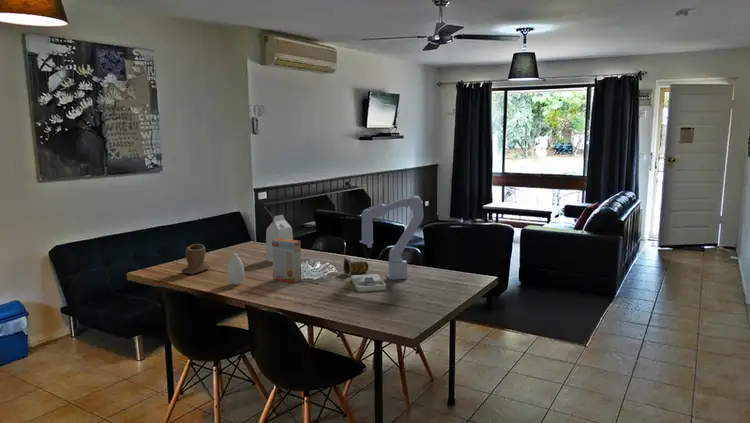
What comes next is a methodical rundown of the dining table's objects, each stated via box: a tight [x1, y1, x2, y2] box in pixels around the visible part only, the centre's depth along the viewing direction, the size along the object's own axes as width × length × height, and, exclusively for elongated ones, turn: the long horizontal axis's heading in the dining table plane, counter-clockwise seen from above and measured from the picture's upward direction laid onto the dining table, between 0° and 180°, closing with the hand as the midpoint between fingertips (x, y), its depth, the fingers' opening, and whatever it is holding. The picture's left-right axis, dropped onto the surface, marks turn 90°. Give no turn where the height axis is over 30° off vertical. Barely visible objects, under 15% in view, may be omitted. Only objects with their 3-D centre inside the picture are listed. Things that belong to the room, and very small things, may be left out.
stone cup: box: [181, 243, 211, 275], centre depth 289 cm, size 15×12×15 cm
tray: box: [353, 279, 387, 293], centre depth 261 cm, size 14×10×2 cm
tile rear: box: [365, 277, 374, 285], centre depth 264 cm, size 4×4×2 cm
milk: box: [265, 214, 294, 263], centre depth 313 cm, size 12×12×26 cm
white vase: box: [227, 251, 245, 286], centre depth 266 cm, size 8×8×18 cm
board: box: [350, 273, 383, 285], centre depth 271 cm, size 14×11×2 cm
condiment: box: [343, 257, 369, 277], centre depth 287 cm, size 7×8×12 cm
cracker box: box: [272, 238, 302, 284], centre depth 273 cm, size 14×6×21 cm, turn 61°
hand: (367, 258), depth 279 cm, fingers closed
